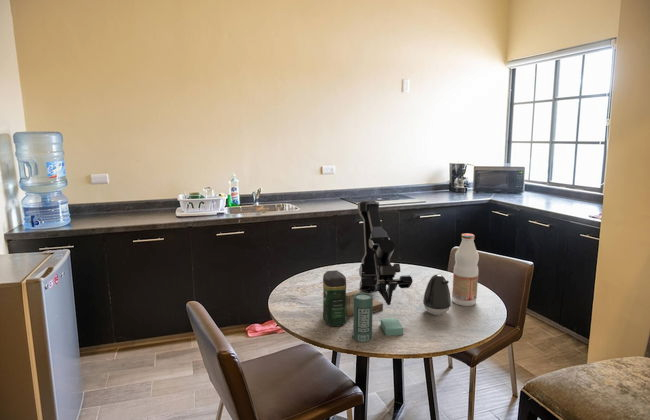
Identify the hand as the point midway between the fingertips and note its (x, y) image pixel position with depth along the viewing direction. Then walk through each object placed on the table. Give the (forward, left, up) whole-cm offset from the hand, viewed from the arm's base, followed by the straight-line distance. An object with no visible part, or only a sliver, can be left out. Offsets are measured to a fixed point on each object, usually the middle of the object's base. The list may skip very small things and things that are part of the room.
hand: (389, 304), depth 159 cm
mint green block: (0, 0, -6) cm, 6 cm away
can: (+14, +3, -8) cm, 16 cm away
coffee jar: (+15, -13, -8) cm, 21 cm away
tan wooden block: (+5, -15, -8) cm, 18 cm away
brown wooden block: (-4, -19, -6) cm, 21 cm away
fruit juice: (-39, +2, -8) cm, 40 cm away
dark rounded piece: (-22, +3, -8) cm, 23 cm away
